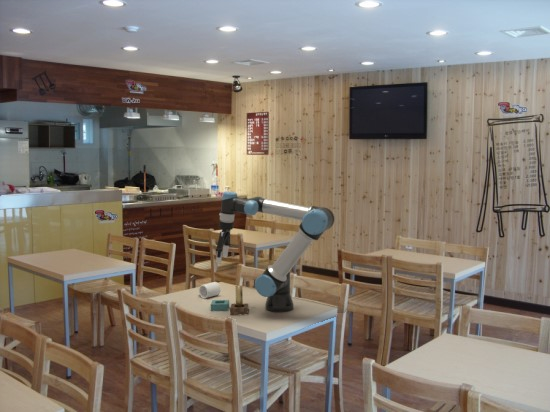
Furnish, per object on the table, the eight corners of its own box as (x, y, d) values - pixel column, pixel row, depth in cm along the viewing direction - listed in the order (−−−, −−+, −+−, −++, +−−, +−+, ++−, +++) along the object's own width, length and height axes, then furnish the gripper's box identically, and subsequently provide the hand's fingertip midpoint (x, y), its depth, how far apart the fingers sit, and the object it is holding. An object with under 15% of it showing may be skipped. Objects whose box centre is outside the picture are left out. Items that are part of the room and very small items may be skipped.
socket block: (229, 306, 315) (229, 299, 314) (227, 310, 306) (227, 304, 305) (212, 306, 315) (212, 300, 314) (210, 310, 306) (210, 304, 305)
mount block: (248, 309, 307) (248, 303, 306) (247, 314, 298) (247, 308, 297) (231, 310, 307) (231, 303, 306) (230, 314, 298) (230, 308, 297)
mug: (220, 296, 337) (220, 282, 336) (207, 299, 329) (207, 285, 329) (207, 292, 345) (207, 279, 344) (194, 296, 338) (194, 282, 337)
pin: (243, 311, 304) (242, 285, 303) (242, 313, 300) (242, 287, 299) (236, 311, 304) (235, 285, 303) (235, 313, 300) (235, 287, 299)
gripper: (225, 216, 314) (220, 253, 317) (213, 223, 289) (208, 264, 293) (238, 218, 313) (233, 256, 316) (227, 226, 288) (222, 267, 292)
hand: (221, 260), depth 304 cm, fingers open, 13 cm apart
